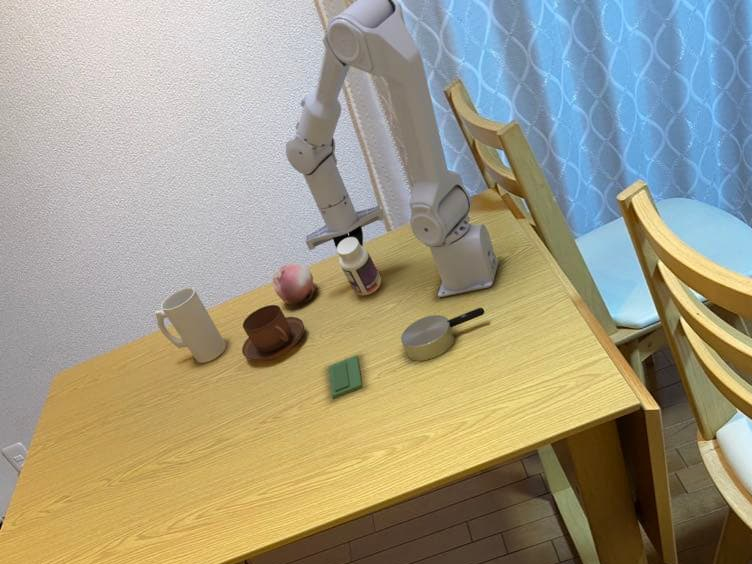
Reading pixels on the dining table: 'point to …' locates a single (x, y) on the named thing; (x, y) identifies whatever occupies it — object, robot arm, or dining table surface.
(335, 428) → the dining table surface
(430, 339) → the pan
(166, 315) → the mug
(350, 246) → the pill bottle
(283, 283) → the onion
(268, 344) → the cup and saucer
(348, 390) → the green light switch
